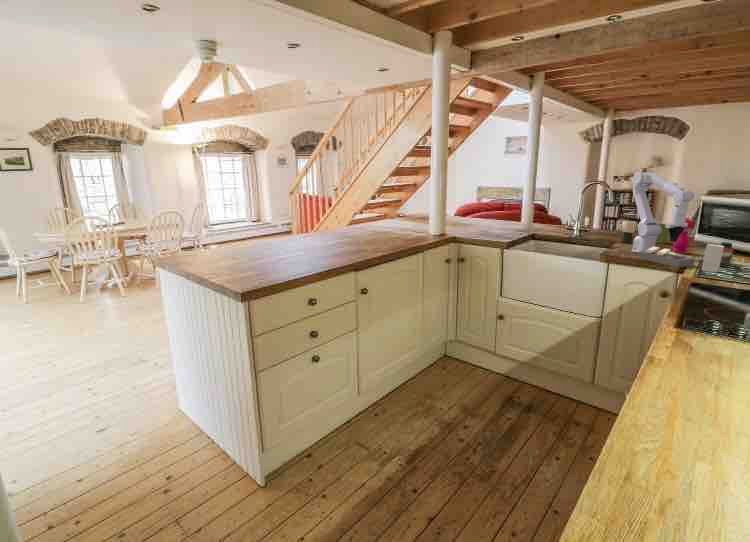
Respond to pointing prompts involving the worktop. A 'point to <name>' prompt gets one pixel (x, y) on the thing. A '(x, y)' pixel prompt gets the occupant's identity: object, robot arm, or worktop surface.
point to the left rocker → (652, 249)
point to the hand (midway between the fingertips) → (673, 241)
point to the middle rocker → (663, 252)
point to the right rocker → (675, 254)
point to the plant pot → (663, 234)
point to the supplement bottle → (726, 254)
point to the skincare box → (712, 258)
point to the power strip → (667, 259)
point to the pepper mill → (683, 238)
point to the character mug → (628, 230)
